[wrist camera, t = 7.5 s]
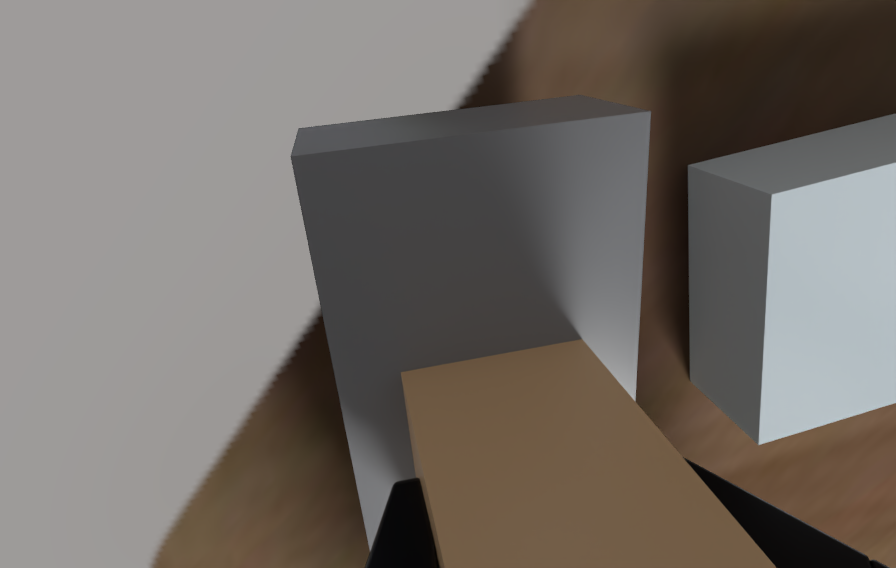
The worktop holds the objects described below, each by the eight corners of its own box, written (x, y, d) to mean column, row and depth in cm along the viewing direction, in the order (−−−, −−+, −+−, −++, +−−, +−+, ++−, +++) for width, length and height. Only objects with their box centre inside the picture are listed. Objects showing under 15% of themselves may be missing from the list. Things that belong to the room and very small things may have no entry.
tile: (908, 105, 14) (1049, 122, 11) (877, 319, 16) (986, 375, 14) (680, 162, 13) (771, 194, 11) (684, 375, 16) (758, 445, 13)
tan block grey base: (580, 94, 10) (1788, 373, 2) (577, 509, 14) (944, 1196, 6) (299, 128, 10) (98, 834, 1) (380, 554, 14) (471, 1408, 5)
